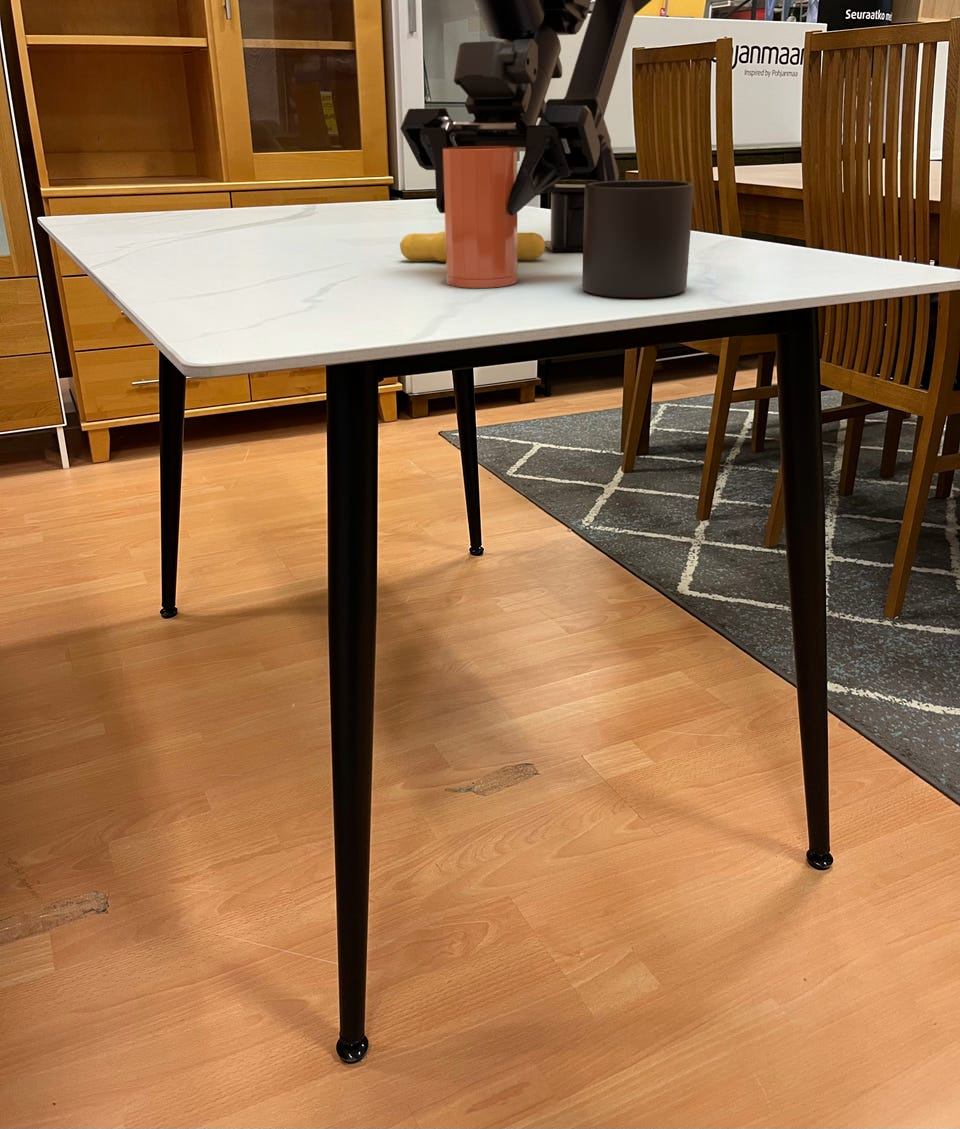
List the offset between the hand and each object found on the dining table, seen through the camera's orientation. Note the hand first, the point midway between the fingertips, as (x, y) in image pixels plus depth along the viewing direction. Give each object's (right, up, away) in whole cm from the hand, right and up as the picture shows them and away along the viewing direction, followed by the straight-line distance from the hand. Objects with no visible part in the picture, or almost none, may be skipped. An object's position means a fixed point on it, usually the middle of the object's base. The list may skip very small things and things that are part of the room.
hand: (474, 211), depth 89 cm
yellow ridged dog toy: (0, 0, +16) cm, 16 cm away
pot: (+1, -5, +4) cm, 7 cm away
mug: (+15, -7, 0) cm, 16 cm away
